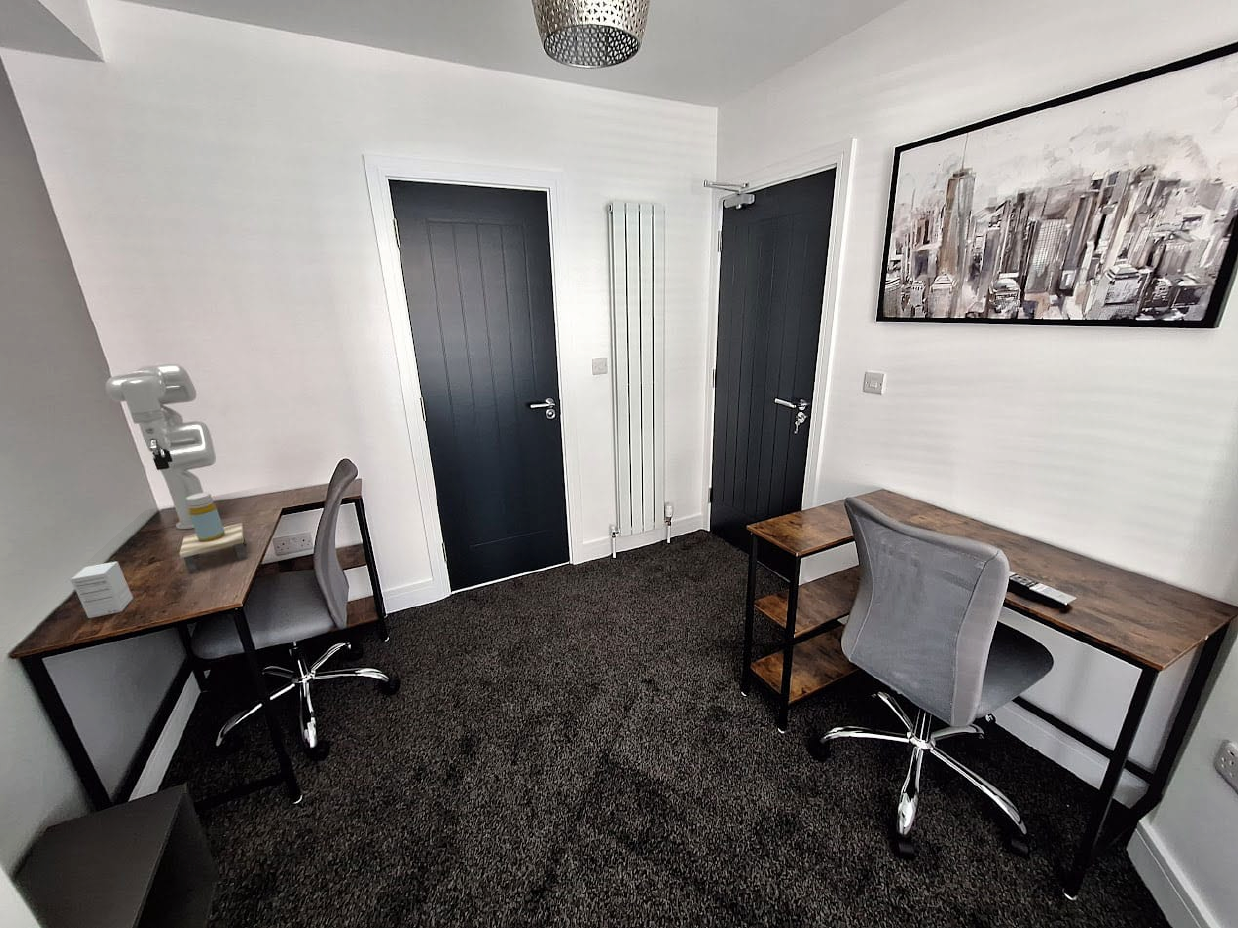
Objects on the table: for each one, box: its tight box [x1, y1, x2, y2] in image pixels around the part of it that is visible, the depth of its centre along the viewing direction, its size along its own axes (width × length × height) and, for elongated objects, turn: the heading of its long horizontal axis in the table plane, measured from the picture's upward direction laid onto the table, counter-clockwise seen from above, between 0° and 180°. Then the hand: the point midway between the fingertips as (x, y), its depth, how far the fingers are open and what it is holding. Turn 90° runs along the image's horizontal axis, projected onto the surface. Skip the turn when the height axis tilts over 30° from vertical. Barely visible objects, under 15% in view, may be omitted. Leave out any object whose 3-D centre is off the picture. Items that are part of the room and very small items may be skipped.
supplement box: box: [69, 561, 134, 619], centre depth 136 cm, size 7×7×13 cm
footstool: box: [179, 522, 247, 574], centre depth 164 cm, size 16×16×8 cm
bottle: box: [186, 492, 225, 541], centre depth 161 cm, size 7×7×15 cm
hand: (165, 465), depth 166 cm, fingers open, 9 cm apart
